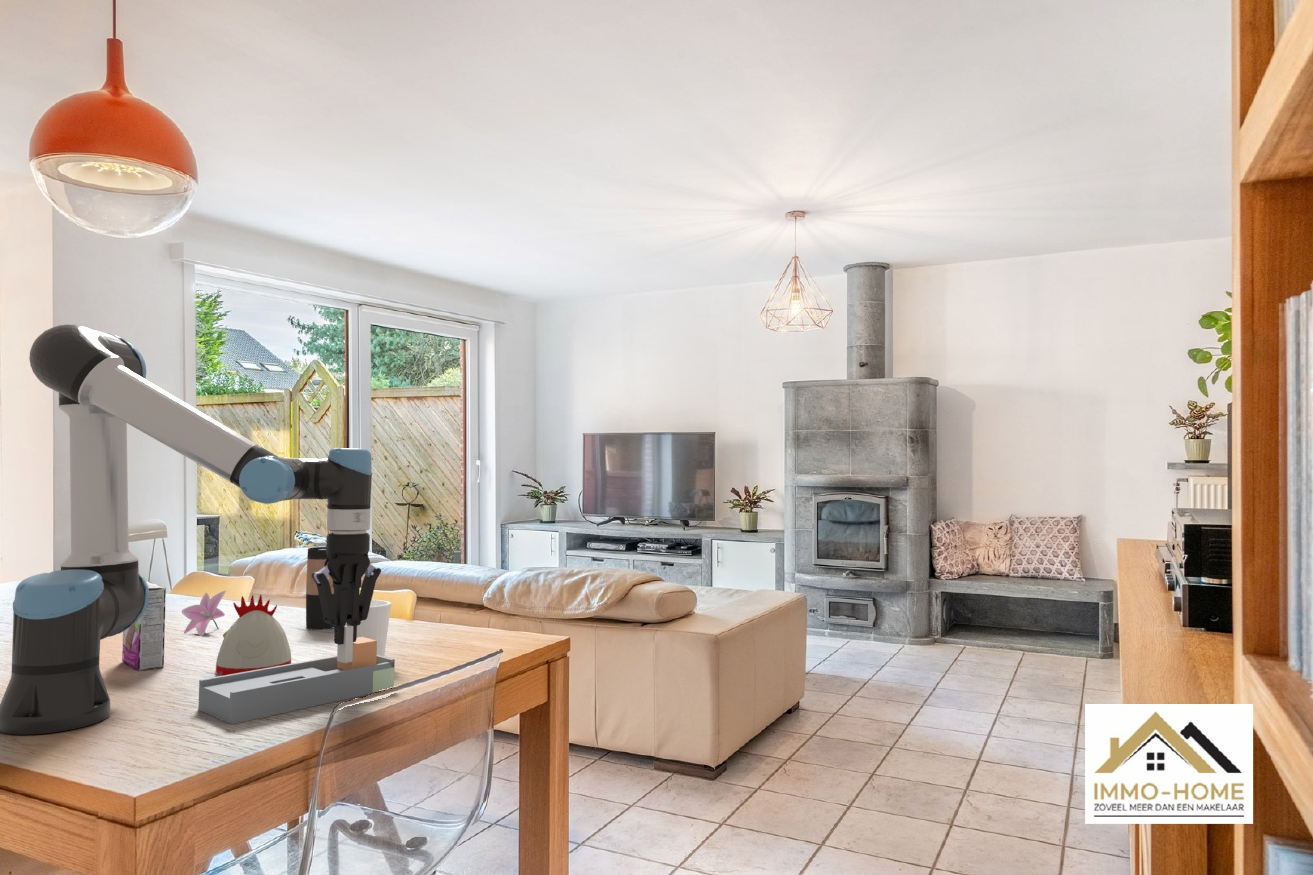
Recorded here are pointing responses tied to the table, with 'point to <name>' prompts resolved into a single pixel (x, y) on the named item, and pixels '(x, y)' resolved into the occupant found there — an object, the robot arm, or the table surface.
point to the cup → (376, 624)
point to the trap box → (290, 688)
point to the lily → (203, 613)
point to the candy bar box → (147, 634)
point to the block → (361, 654)
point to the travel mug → (315, 589)
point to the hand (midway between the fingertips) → (344, 661)
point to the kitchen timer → (253, 641)
